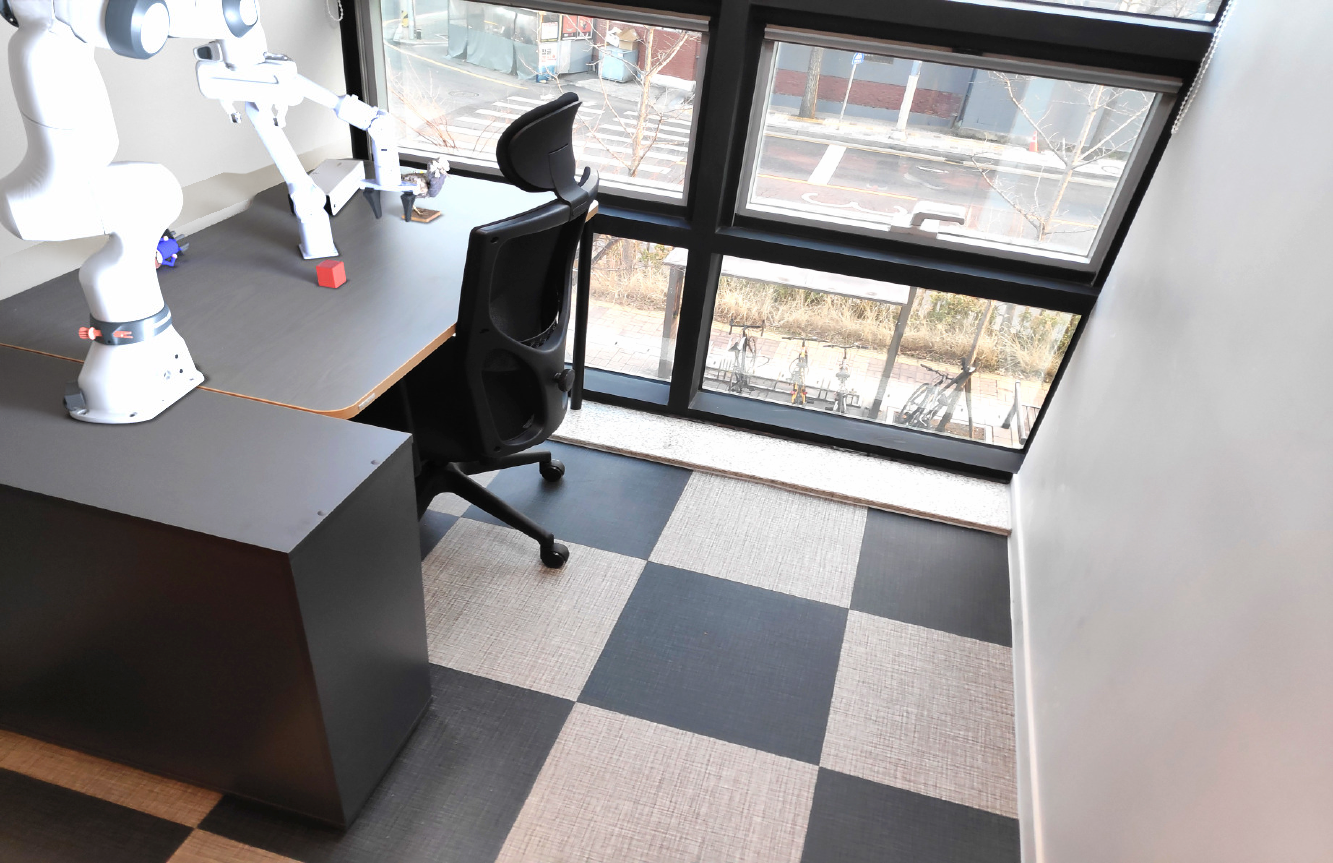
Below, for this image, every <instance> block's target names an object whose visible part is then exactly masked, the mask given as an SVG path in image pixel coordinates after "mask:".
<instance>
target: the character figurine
mask: <svg viewBox="0 0 1333 863" xmlns="http://www.w3.org/2000/svg"><path fill="white" fill-rule="evenodd" d="M176 234H177V232H176V231H175V230H170V229H169V228H168V227H167V228H166V229H165V231H164V232H163V234H162V236H161V238H160V240H159V242H158V245H157V248H156V252H155V269H158V268H159V267H160V266H162V265H163V266H164V265H165V266H166V265H167V266H170V267H173V266H174V264H175V261H176V259H177V258H178V257H182V256H184V255H185V253H184V252H185V251H187V250H188V249H189V246H190V242H185V243H184V244H182V245H179V243H178V242H177V241H179V240H181V239H183V238H185V236H186V234H184V233H181V234H179V235H177V236H175V235H176ZM174 236H175V237H174Z"/></svg>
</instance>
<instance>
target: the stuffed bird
mask: <svg viewBox="0 0 1333 863" xmlns="http://www.w3.org/2000/svg"><path fill="white" fill-rule="evenodd" d="M449 166H450V163H449V162H448V160H447V159H446V157H444V156H438V157H437V158H436V159H431V160H430V161H429V162H428V163H427V166H426V167H427V168H426V172H423V173H420V172H418V173H413V172H410V173H409V172H408V173H406V174H403V173H400V177H401V181H404V182H408V183H412V184H419V188H420V192H419V193H418V194H417V196H416V199H429V198H432V199H433V198H436V197H437V196H438V194H439V193H440V192H441V190H442V188H443V185H444V184H445V179H447V177H449V178H450V179H452V180H454V179H453V177H452V176H451V175H450V174H449V173H447V171H449V170H450V167H449ZM441 215H442V213H441V211H440V210H436V209H435V210H434V209H430V208H424V207H417V206H415V205H413V209H412V215H411V220H410V221H414V222H420V223H429V222H430V221H432V220H434V219H435V218H437V217H438V216H441ZM401 219H403V220H405V216H404V213H403V214H402V215H401Z"/></svg>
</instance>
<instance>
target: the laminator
mask: <svg viewBox="0 0 1333 863" xmlns="http://www.w3.org/2000/svg"><path fill="white" fill-rule="evenodd" d="M307 175H308V176H309V177H310V178H311V179H312V180H313V182H314V184H315V185H316V186H317V187H319V188H320V189H321V190H322V191H323V192H324V194H325V196H326V202H325V205H324V207H323V209H324V210H325V212H326V213H327V214H328V216H333V217H335V216H336V215H337V214H338V213H339V212H340V210H341V209H342V208H343V207H344V206H345V205H346V204H347V202H348V201H349V200H350V199H351V198H352V197H353V196H354V194H355V193H356V192H357V191H358V190H359V189H360V185H359V181H360V180H361V179H366V173H365V166H364V161H363V160H359V159H358V160H357V159H336V158H326V159H324V160H323V161H322V162H321V163H320V164H319V165H318V166H317V167H315V168H314V169H313V170H312V171H311V172H310V173H309V174H307ZM287 198H288V204H289V208H290V212H291V214H292V215H296V213H295V211H294V203H293V200H292V198H291V197H290V193H289V192H288V193H287Z"/></svg>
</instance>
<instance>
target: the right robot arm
mask: <svg viewBox="0 0 1333 863" xmlns="http://www.w3.org/2000/svg"><path fill="white" fill-rule="evenodd" d="M297 76H298V79H299V82H300V86H301V90H302V94H303V97H305V98H307V99H309V100H312V101H314V102H316V103H318V104H321V105H323V106H325V107H327V108H329V109H331V110H333V111H334V113H335V116H336V117H337V118H338V119H340V120H342V121H344V122H346V123H348V124H350V125H352V126H354V127H356V128H358V129H360V130H362V131H365V132H366V131H367V132H368V133H369V135H370V137H371V141H372V142H371V144H372V145H371V149H372V157H373V163H374V164H373V165H374V173H375V178H365V179H361V180H360V181H359V185H360V188H359V189H361V190H363V191H362V196H363V197H364V198H365V200H366V201H367V202H368V203H369V205H370V207H371V210H372V212H373V214H374V217H375V219H376V220H380V219H381V218H382V217H383V211H382V204H381V191H389V192H399V193H402V194H401V195H400V196H399V198H400V200H401V203H402V207H403V208H402V209H403V214H404V216H405V219H404V221H405V223H410V221H412V220H411V215H412V209H414V207H413V205H414V204H415V201H416V199H417V198H416V196H417V194H418V193H419V192H420V188H419V184H412V183H408V182H404V181H401V177H400V174H401V170H400V160H399V152H398V145H397V139H396V136H395V133H396V122H395V119H394V117H393V116H392V114H391V113H389V112H387V110H386V109H383V108H382V109H381V108H380V109H379V107H378V106H375V105H374V106H371V105H369V104H367V103H365V102H363V101H361V100H359V99H358V98H359V96H357V95H355V94H352V95H350V94H347V93H346V94H342V95H337V94H336V93H335V92H332V91H331V90H328V89H327V88H326V87H323V86H322V85H320V84H318V83H316V82H314V81H313V80H311V79H309V78H307V77H305V76H303V75H301V74H300V73H298V72H297ZM272 107H273V104H270V103H259V102H248V101H244V111H245V114H246V115H247V117H248V119H249V121H250V123H251V124H252V125H253V127H254V129H255V131H256V132H257V135H258V136H259V138H260V139H261V141H262V143H263V145H264V146H265V148H266V150H267V152H268V153H269V155H270V157H271V159H272V161H273V162H274V164H275V165H276V168H277V169H278V171H279V173H280V174H281V176H282V178H283V180H284V182H285V183H286V185H287V189H288V193H290V197H291V198H292V200H293V203H294V211H295V213H296V214H295V215H296V222H297V227H298V231H299V236H300V242H301V243H299V244H298V247H299V250H300V252H301V255H302V257H303V259H305V260H308V259H319V258H326V257H335V256H339V253H338V250H337V248H336V247H335V244H334V242H333V236H332V230H331V224H330V219H329V215H328V214H327V213H326V212H325V210H324V209H323V207H324V205H325V202H326V196H325V194H324V192H323V191H322V190H321V189H320V188H319V187H317V186H316V185H315V184H314V182H313V180H312V179H311V178H310V177H309V176H308V175H309V174H308V173H307V172H306V171H305V169H304V167H303V165H302V164H301V161H300V159H298V156H297V154H296V152H295V150H293V148H292V146H291V143H290V142H289V140H288V138H287V136H286V134H285V133H284V131H283V129H282V127H276V126H274V121H273V117H275V115H274V114H273V111H272ZM414 206H415V205H414Z"/></svg>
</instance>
